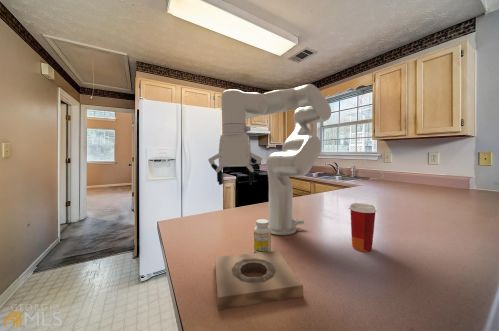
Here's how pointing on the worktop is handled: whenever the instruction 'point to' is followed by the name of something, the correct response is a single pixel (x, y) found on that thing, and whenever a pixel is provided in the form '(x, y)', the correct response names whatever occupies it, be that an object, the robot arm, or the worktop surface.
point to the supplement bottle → (262, 236)
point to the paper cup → (362, 226)
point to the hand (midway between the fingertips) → (235, 184)
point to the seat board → (254, 279)
